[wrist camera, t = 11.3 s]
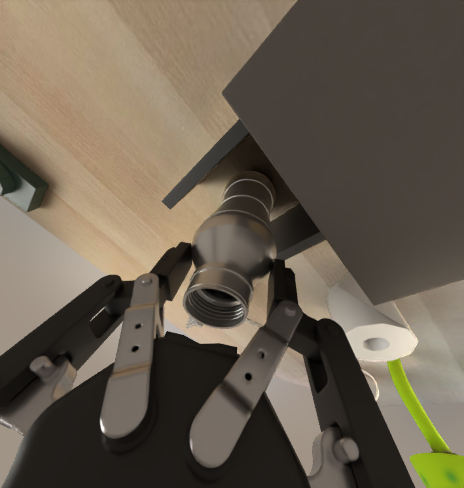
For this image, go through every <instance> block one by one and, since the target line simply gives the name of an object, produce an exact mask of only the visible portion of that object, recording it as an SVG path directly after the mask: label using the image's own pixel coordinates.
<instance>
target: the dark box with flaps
mask: <svg viewBox="0 0 464 488" xmlns="http://www.w3.org/2000/svg"><path fill="white" fill-rule="evenodd" d="M222 95H223V96H224V98H225V99H226V100H227V102H228V103H229V105H230V106H231V107H232V109H233V110H234V112H235V113H236V114H237V116H238V117H239V120H238V121H237V122H236V123H235V124H234V126H233V127H232V128H231V129H230V130H229V131H228V132H227V133H226V134H225V135H224V136H223V137H222V138H221V139H220V140H219V141H218V142H217V143H216V144H215V145H214V146H213V148H212V149H211V150H210V151H209V152H208V153H207V154H206V155H205V156H204V157H203V158H202V159H201V160H200V161H199V162H198V163H197V164H196V165H195V166H194V167H193V168H192V170H191V171H190V172H189V173H188V174H187V175H186V176H185V177H184V178H183V179H182V180H181V181H180V182H179V183H178V184H177V185H176V186H175V187H174V188H173V189H172V191H171V192H170V193H169V194H168V195H167V196H166V197H165V198H164V199H163V200H162V202H163V203H164V204H165V205H166V206H167V207H168V208H169V209H171V208H172V207H173V206H175V205H176V204H177V203H178V202H179V201H180V200H181V199H182V198H183V197H185V196H186V195H187V194H188V193H189V192H190V191H191V190H192V189H193V188H195V187H196V186H197V185H198V184H199V183H200V182H201V181H202V180H203V179H204V178H205V177H206V176H207V175H208V174H209V173H210V172H211V171H212V170H213V169H214V168H216V167H217V166H218V165H219V164H220V163H221V162H222V161H223V160H224V159H225V158H226V157H227V156H228V155H229V154H230V153H231V152H232V151H233V150H234V149H235V148H236V147H237V146H238V145H239V144H240V143H241V142H242V141H244V140H245V139H246V138H247V137H248V136H249V135H250V134H251V135H252V137H253V138H254V140H255V141H256V142H257V144H258V145H259V147H260V148H261V149H262V151H263V152H264V154H265V155H266V156H267V158H268V159H269V160H270V162H271V163H272V165H273V166H274V167H275V169H276V170H277V172H278V173H279V174H280V176H281V177H282V179H283V180H284V181H285V183H286V184H287V186H288V187H289V188H290V190H291V191H292V193H293V194H294V195H295V197H296V198H297V200H298V201H299V202H300V204H298V205H297V206H295V207H294V208H292V209H290V210H289V211H287V212H286V213H284V214H283V215H281V216H279V217H278V218H276V219H275V220H273V221H272V222H270V226H271V229H272V232H273V236H274V239H275V244H276V259H281V260H286V259H288V258H290V257H292V256H294V255H296V254H298V253H300V252H302V251H304V250H306V249H308V248H310V247H312V246H314V245H316V244H318V243H320V242H322V241H324V240H327V241H328V243H329V244H330V246H331V247H332V248H333V250H334V251H335V253H336V254H337V255H338V257H339V258H340V260H341V261H342V262H343V264H344V265H345V267H346V268H347V269H348V271H349V272H350V274H351V275H352V276H353V278H354V279H355V281H356V282H357V283H358V285H359V286H360V288H361V289H362V290H363V292H364V293H365V294H366V296H367V297H368V299H369V300H370V301H371V303H372V304H373V305H374V306H376V305H379V304H382V303H386V302H389V301H393V300H396V299H400V298H403V297H407V296H410V295H414V294H417V293H420V292H424V291H427V290H431V289H434V288H438V287H441V286H445V285H448V284H451V283H455V282H458V281H462V280H464V0H298V1H297V2H296V3H295V4H294V6H293V7H292V8H291V9H290V10H289V12H288V13H287V14H286V15H285V16H284V18H283V19H282V20H281V21H280V22H279V24H278V25H277V26H276V27H275V29H274V30H273V31H272V32H271V33H270V35H269V36H268V37H267V38H266V39H265V41H264V42H263V43H262V44H261V45H260V47H259V48H258V49H257V50H256V52H255V53H254V54H253V55H252V56H251V58H250V59H249V60H248V61H247V62H246V64H245V65H244V66H243V67H242V68H241V70H240V71H239V72H238V73H237V75H236V76H235V77H234V78H233V79H232V81H231V82H230V83H229V84H228V85H227V87H226V88H225V89H224V90H223V91H222Z"/></svg>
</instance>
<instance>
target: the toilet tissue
mask: <svg viewBox="0 0 464 488" xmlns="http://www.w3.org/2000/svg"><path fill="white" fill-rule="evenodd" d="M326 303H327V306H328V310H329V314H330V317H331V320H333V321H335V322H337V323H338V324H339V325H340V326H341V327H342V328H343V330H344V332H345V334H346V336H347V339H348V341H349V343H350V345H351V347H352V350H353V352H354V354H355V356H356V358H357V359H359V360H363V361H367V362H378V361H393V360H396V359H398V358H401V357H403V356H405V355H408V354H410V353H412V351H413V350H414V348H415V346H416V344H417V343H418V339H417V338H416V336H415V335H414V333H413V332H412V330H411V328H410V327H409V325H408V324H407V322H406V320H405V319H404V317H403V316H402V314H401V313H400V311H399V309H398V308H397V306H396V305H395V303H394V301H389V302H386V303H382V304H379V305H376V306H374V305H373V304H372V303H371V301H370V300H369V299H368V297H367V296H366V294H365V293H364V292H363V290H362V289H361V288H360V286H359V285H358V283H357V282H356V281H355V279H354V278H353V276H352V275H351V274H350V272H349V271H348V272H347V273H346V275H345V276H344V278H343V279H342V280H341V281H339V282H338V283H336V284H335V285H334V286H333V287H331V288H330V289H329V290H328V291H327V300H326Z"/></svg>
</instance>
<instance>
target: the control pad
mask: <svg viewBox="0 0 464 488" xmlns="http://www.w3.org/2000/svg"><path fill="white" fill-rule="evenodd" d="M47 188H48V184H47V183H46V182H45V181H44V180H42V179H41V178H40V177H39V176H37V175H36V174H35V173H34V172H33V171H31V170H30V169H29V168H28V167H27V166H25V165H24V164H23V163H22V162H20V161H19V160H18V159H17V158H16V157H14V156H13V155H12V154H11V153H10V152H8V151H7V150H6V149H5V148H3V147H2V146H1V145H0V196H2V195H4V196H5V197H6V198H8V199H9V200H10V201H12V202H13V203H14V204H16V205H17V206H18V207H20V208H21V209H22V210H24V211H25V212H26V213H27V212H29V211H32V210H35V209H37V208H39V206H40V204H41V201H42V199H43V197H44V195H45V192H46V190H47Z"/></svg>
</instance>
